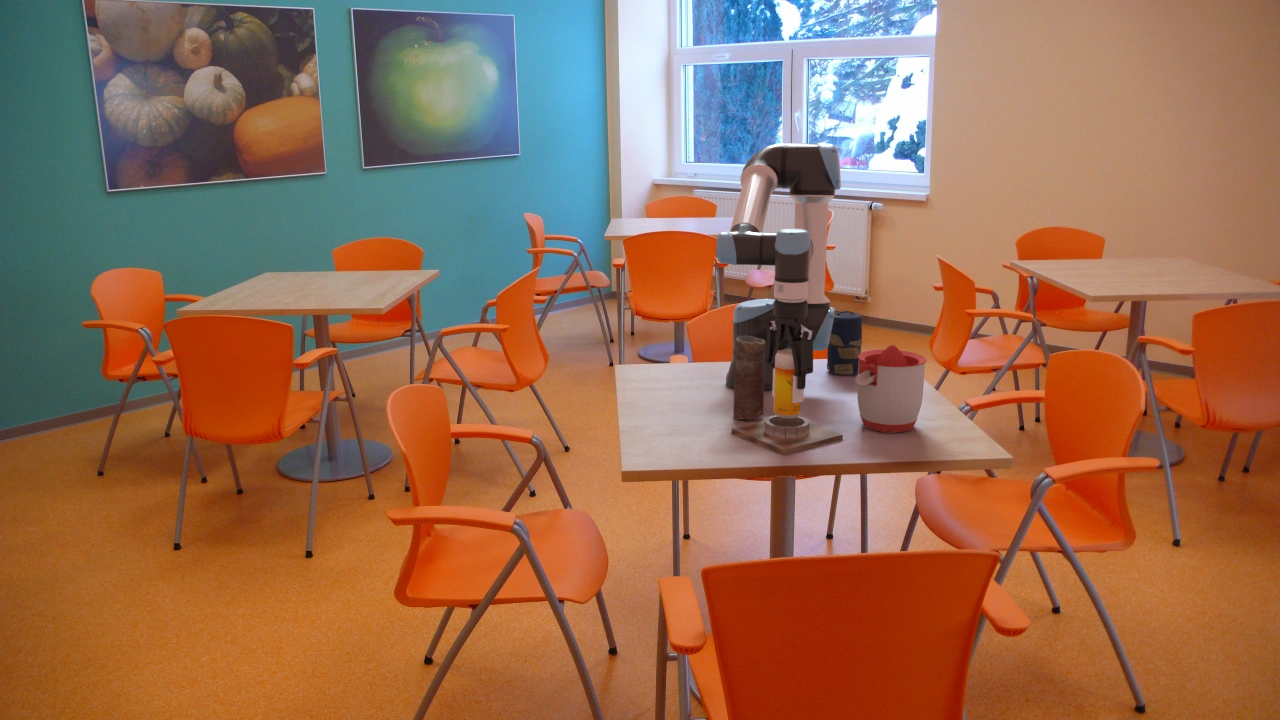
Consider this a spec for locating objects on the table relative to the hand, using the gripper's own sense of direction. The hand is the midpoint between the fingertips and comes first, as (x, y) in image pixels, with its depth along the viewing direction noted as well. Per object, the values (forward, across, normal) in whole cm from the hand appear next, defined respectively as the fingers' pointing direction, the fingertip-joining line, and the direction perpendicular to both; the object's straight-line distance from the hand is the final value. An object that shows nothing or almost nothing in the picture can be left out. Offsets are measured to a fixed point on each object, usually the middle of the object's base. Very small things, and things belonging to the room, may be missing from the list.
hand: (787, 398), depth 226 cm
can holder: (+9, 0, 0) cm, 9 cm away
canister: (+9, -33, +51) cm, 62 cm away
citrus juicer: (+9, +8, +24) cm, 27 cm away
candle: (+9, -16, +2) cm, 19 cm away
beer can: (+4, 0, 0) cm, 4 cm away
